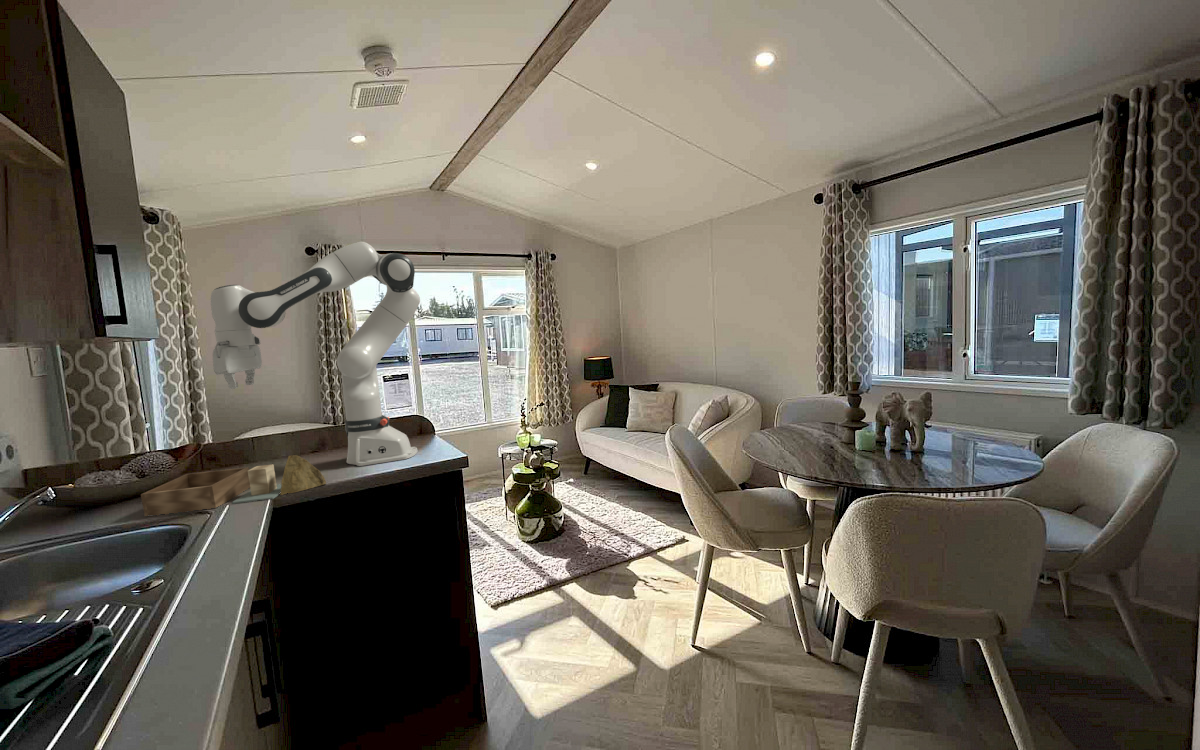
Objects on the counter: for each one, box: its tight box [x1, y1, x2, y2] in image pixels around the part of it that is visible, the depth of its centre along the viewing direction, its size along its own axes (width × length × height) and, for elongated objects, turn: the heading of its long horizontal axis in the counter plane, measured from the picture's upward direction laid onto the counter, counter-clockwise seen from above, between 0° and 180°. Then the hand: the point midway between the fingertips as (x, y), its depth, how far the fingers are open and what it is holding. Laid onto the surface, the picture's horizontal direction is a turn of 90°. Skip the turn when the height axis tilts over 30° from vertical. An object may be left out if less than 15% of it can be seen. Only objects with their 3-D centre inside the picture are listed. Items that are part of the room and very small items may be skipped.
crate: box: [140, 466, 250, 517], centre depth 138 cm, size 17×18×6 cm
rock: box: [279, 454, 327, 496], centre depth 141 cm, size 11×9×10 cm
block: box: [248, 463, 277, 495], centre depth 140 cm, size 4×4×7 cm
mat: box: [231, 483, 281, 505], centre depth 140 cm, size 10×13×1 cm
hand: (242, 386), depth 150 cm, fingers open, 8 cm apart
